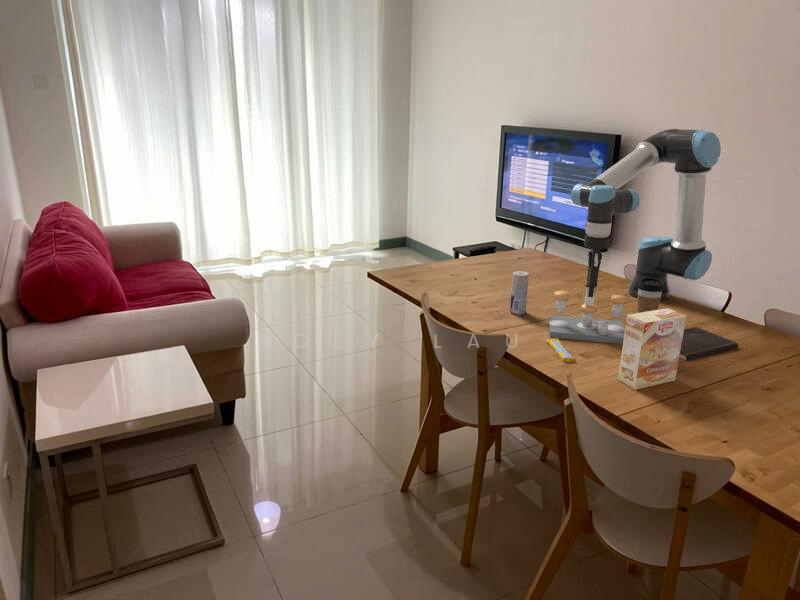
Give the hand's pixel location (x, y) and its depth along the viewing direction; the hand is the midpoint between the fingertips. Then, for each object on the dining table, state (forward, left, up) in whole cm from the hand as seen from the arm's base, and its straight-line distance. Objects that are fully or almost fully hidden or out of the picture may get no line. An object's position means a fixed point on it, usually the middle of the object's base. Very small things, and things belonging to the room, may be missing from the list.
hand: (589, 305), depth 202 cm
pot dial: (-5, +6, -7) cm, 11 cm away
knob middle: (0, 0, -7) cm, 7 cm away
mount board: (0, 0, -10) cm, 10 cm away
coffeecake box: (-14, +34, -10) cm, 38 cm away
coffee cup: (-21, -15, -10) cm, 28 cm away
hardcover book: (-32, +4, -10) cm, 34 cm away
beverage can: (+23, -14, -10) cm, 29 cm away
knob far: (+9, 0, -3) cm, 9 cm away
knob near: (-9, 0, -3) cm, 10 cm away
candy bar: (+9, +19, -10) cm, 23 cm away
